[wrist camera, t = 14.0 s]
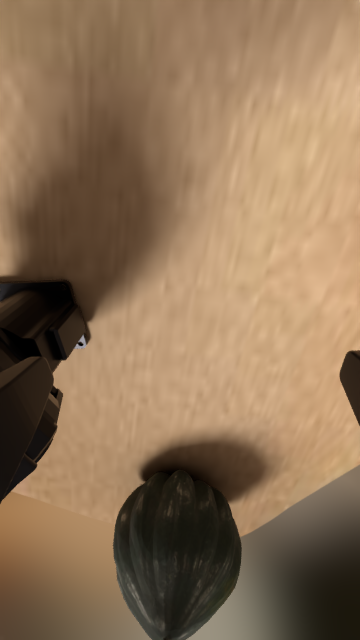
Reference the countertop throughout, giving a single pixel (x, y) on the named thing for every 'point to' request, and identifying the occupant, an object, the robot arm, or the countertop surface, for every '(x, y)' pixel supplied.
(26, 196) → the countertop surface
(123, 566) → the squash
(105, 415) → the countertop surface
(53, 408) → the robot arm
